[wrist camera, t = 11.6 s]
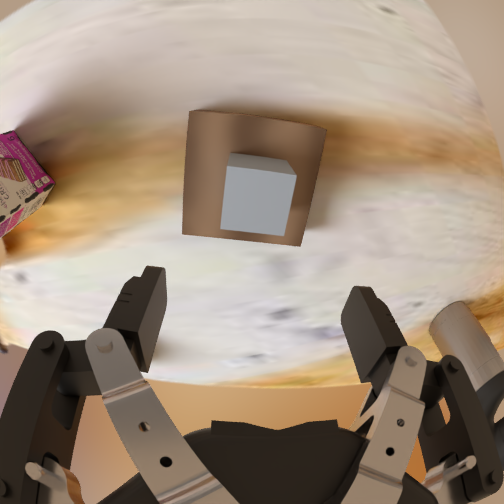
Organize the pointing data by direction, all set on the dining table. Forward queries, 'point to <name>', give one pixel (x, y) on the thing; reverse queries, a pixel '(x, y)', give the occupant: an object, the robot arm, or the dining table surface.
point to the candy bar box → (19, 182)
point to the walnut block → (249, 143)
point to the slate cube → (257, 194)
